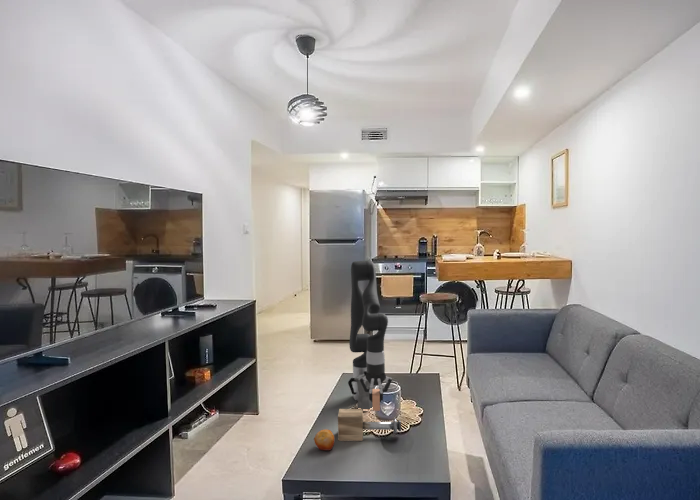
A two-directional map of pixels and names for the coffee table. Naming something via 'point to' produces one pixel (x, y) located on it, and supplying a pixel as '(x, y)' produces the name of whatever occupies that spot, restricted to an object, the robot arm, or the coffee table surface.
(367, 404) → the coffeepot
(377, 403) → the block
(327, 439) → the fruit
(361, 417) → the wooden block
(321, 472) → the coffee table surface
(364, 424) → the shaft
